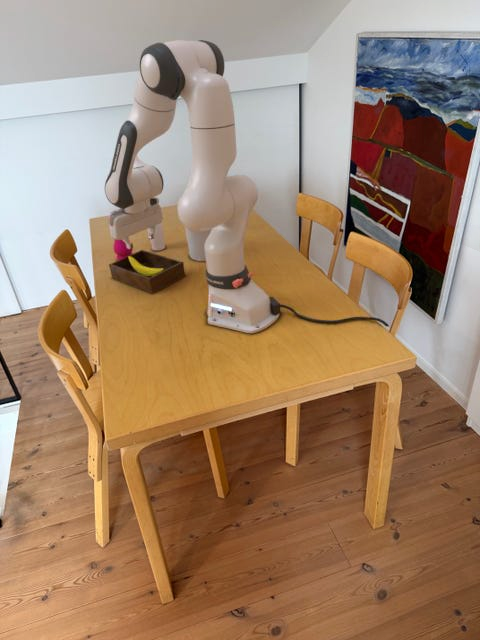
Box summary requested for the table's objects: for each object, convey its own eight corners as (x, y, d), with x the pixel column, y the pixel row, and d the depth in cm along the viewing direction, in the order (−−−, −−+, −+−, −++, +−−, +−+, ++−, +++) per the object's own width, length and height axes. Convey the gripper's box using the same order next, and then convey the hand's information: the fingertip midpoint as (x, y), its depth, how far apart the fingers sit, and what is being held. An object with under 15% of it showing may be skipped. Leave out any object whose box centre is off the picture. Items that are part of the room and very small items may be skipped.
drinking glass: (163, 252, 183) (157, 215, 175) (148, 252, 184) (140, 216, 176) (169, 245, 188) (163, 210, 181) (154, 245, 190) (147, 210, 182)
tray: (185, 276, 162) (183, 261, 159) (152, 293, 153) (149, 279, 150) (144, 262, 175) (142, 249, 172) (112, 278, 166) (108, 264, 163)
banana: (163, 283, 157) (160, 266, 154) (128, 271, 168) (124, 256, 165) (169, 280, 159) (166, 263, 156) (134, 268, 170) (130, 253, 167)
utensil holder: (229, 246, 183) (225, 203, 173) (223, 261, 170) (219, 216, 161) (193, 247, 185) (187, 205, 176) (185, 262, 172) (178, 218, 163)
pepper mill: (125, 264, 176) (114, 213, 165) (112, 261, 179) (100, 211, 169) (138, 257, 181) (128, 207, 170) (125, 254, 184) (114, 205, 174)
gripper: (113, 215, 142) (122, 255, 149) (162, 196, 155) (168, 235, 162) (101, 211, 145) (110, 251, 153) (150, 194, 158) (156, 232, 165)
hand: (140, 243), depth 157 cm, fingers open, 8 cm apart
